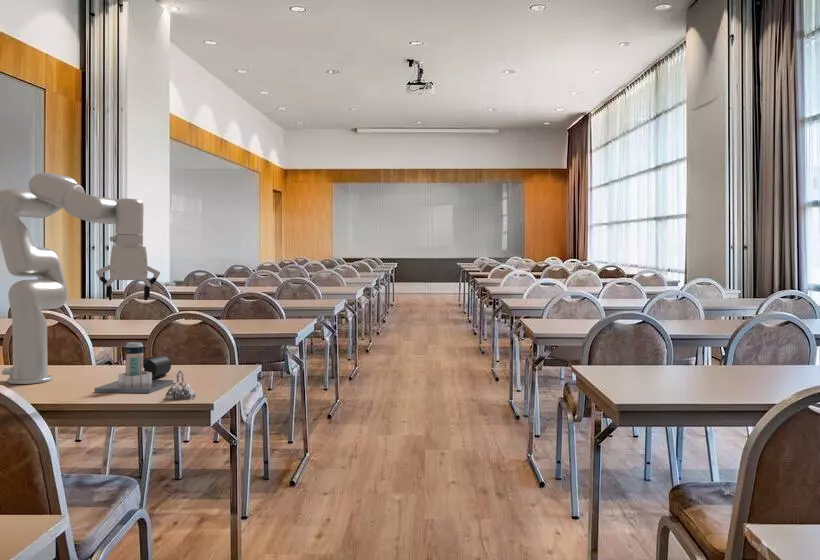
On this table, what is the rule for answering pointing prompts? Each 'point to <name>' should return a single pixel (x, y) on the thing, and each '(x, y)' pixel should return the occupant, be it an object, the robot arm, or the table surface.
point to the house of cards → (180, 390)
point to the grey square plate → (134, 384)
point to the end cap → (157, 366)
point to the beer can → (134, 358)
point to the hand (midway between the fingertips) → (128, 300)
